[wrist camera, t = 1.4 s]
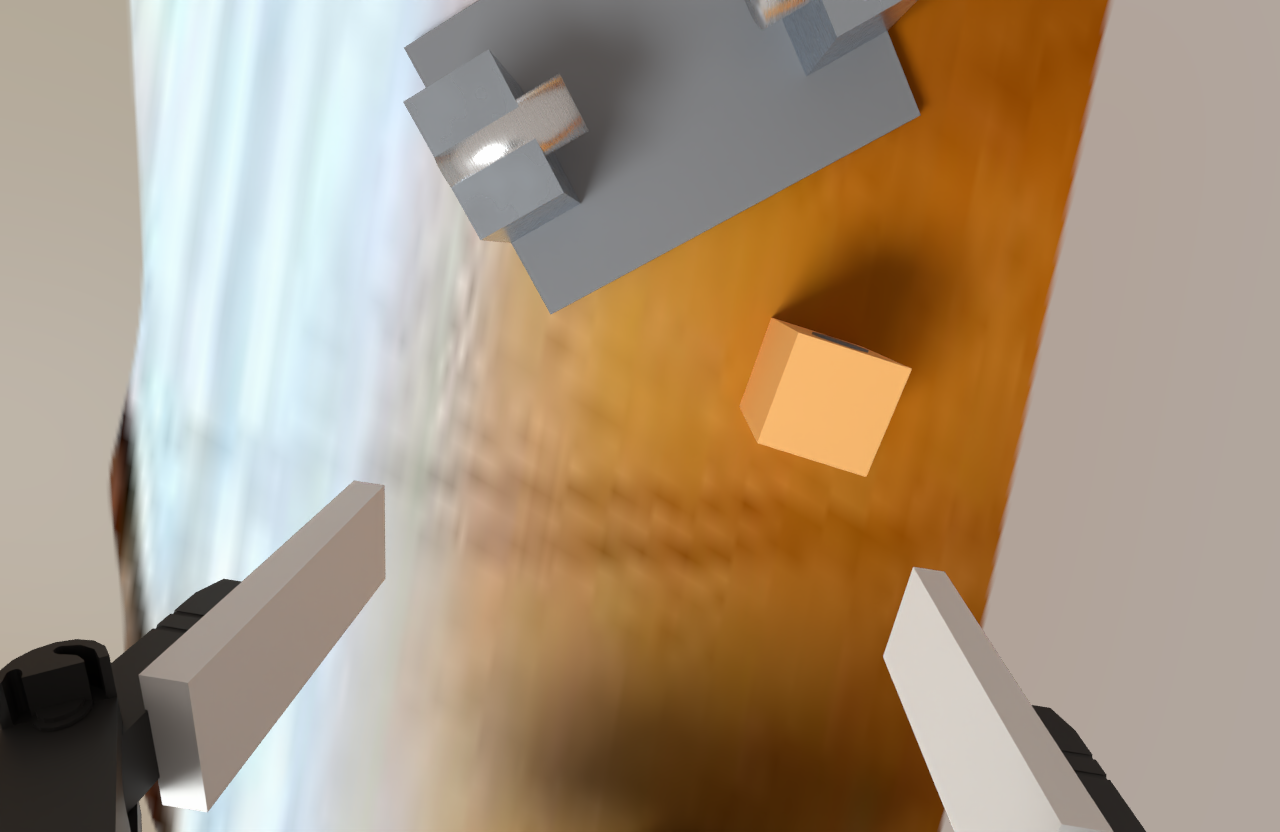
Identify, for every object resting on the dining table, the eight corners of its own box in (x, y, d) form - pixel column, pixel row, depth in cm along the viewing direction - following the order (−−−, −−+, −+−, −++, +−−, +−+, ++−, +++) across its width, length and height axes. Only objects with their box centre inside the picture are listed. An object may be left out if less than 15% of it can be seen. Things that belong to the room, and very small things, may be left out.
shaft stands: (887, 30, 29) (939, -22, 24) (511, 242, 32) (479, 239, 26) (833, -104, 28) (875, -193, 22) (448, 128, 31) (401, 100, 25)
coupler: (862, 344, 33) (913, 366, 27) (826, 435, 35) (865, 479, 28) (772, 315, 33) (799, 330, 26) (738, 408, 34) (756, 445, 28)
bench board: (914, 118, 31) (920, 114, 30) (553, 313, 34) (550, 314, 33) (792, -188, 28) (795, -201, 27) (410, 52, 31) (404, 47, 30)
